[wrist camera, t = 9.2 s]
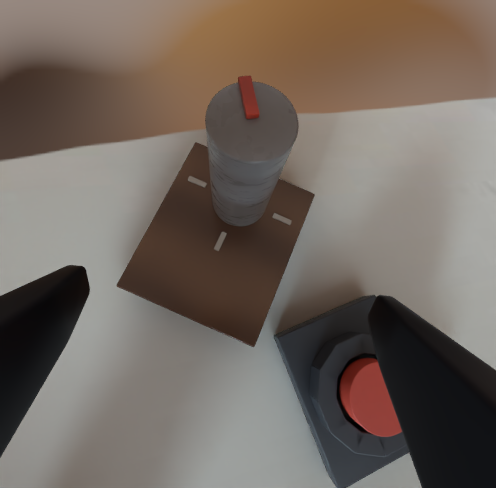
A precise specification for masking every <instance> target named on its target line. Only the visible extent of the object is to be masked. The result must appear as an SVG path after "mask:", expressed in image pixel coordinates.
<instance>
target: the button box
mask: <svg viewBox="0 0 496 488" xmlns="http://www.w3.org/2000/svg"><path fill="white" fill-rule="evenodd" d="M375 299H376V296H375V295H371V296H363V297H361V298H359V299H356V300H354V301H352V302H349V303H347V304H345V305H343V306H340V307H338V308H336V309H333V310H331V311H329V312H326V313H324V314H322V315H320V316H317V317H315V318H313V319H310V320H308V321H306V322H303V323H301V324H299V325H297V326H294V327H292V328H290V329H287V330H285V331H283V332H280V333H278V334H276V335H274V338H275V341H276V343H277V346H278V348H279V351H280V353H281V356H282V358H283V361H284V363H285V366H286V369H287V371H288V374H289V376H290V379H291V381H292V384H293V386H294V389H295V391H296V394H297V396H298V399H299V401H300V404H301V406H302V409H303V411H304V414H305V416H306V419H307V421H308V424H309V426H310V429H311V432H312V434H313V437H314V439H315V442H316V444H317V447H318V449H319V452H320V454H321V457H322V459H323V462H324V464H325V467H326V469H327V472H328V474H329V477H330V478H331V480H332V481H333V483H334V484H335V486H336V487H337V488H346V487H348V486H350V485H352V484H354V483H355V482H357V481H359V480H361V479H362V478H364V477H366V476H368V475H370V474H371V473H373V472H375V471H377V470H378V469H380V468H382V467H384V466H386V465H387V464H389V463H391V462H393V461H394V460H396V459H398V458H400V457H402V456H403V455H405V454H407V453H409V449H408V447H407V444H406V441H405V438H404V435H403V433H402V432H400V433H399V434H396V435H394V436H389V437H381V436H377V435H374V434H372V433H370V432H368V431H367V430H365V429H364V428H363V427H362V426H360V425H359V424H358V423H357V422H355V421H354V420H353V419H352V418H351V417H350V416H349V415H348V414H347V412H346V411H345V409H344V407H343V405H342V402H341V399H340V393H339V386H340V380H341V377H342V374H343V372H344V371H345V369H346V368H347V367H348V366H349V365H350V364H351V363H352V362H354V361H355V360H358V359H361V358H374V359H377V357H376V353H375V349H374V344H373V340H372V336H371V332H370V328H369V324H368V313H369V311H370V309H371V307H372V305H373V303H374V301H375Z"/></svg>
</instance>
